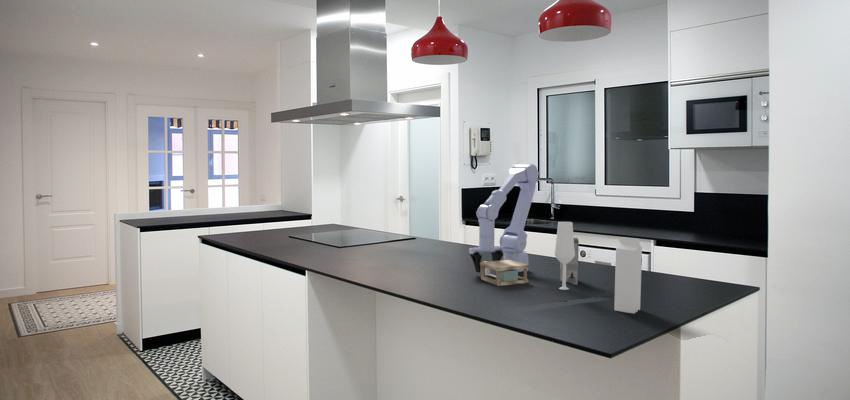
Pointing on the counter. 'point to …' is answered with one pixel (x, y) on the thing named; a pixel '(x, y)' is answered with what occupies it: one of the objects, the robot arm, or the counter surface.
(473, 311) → the counter surface
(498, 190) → the robot arm
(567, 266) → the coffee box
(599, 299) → the counter surface
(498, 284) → the shelf
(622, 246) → the milk
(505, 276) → the block
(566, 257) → the champagne flute
